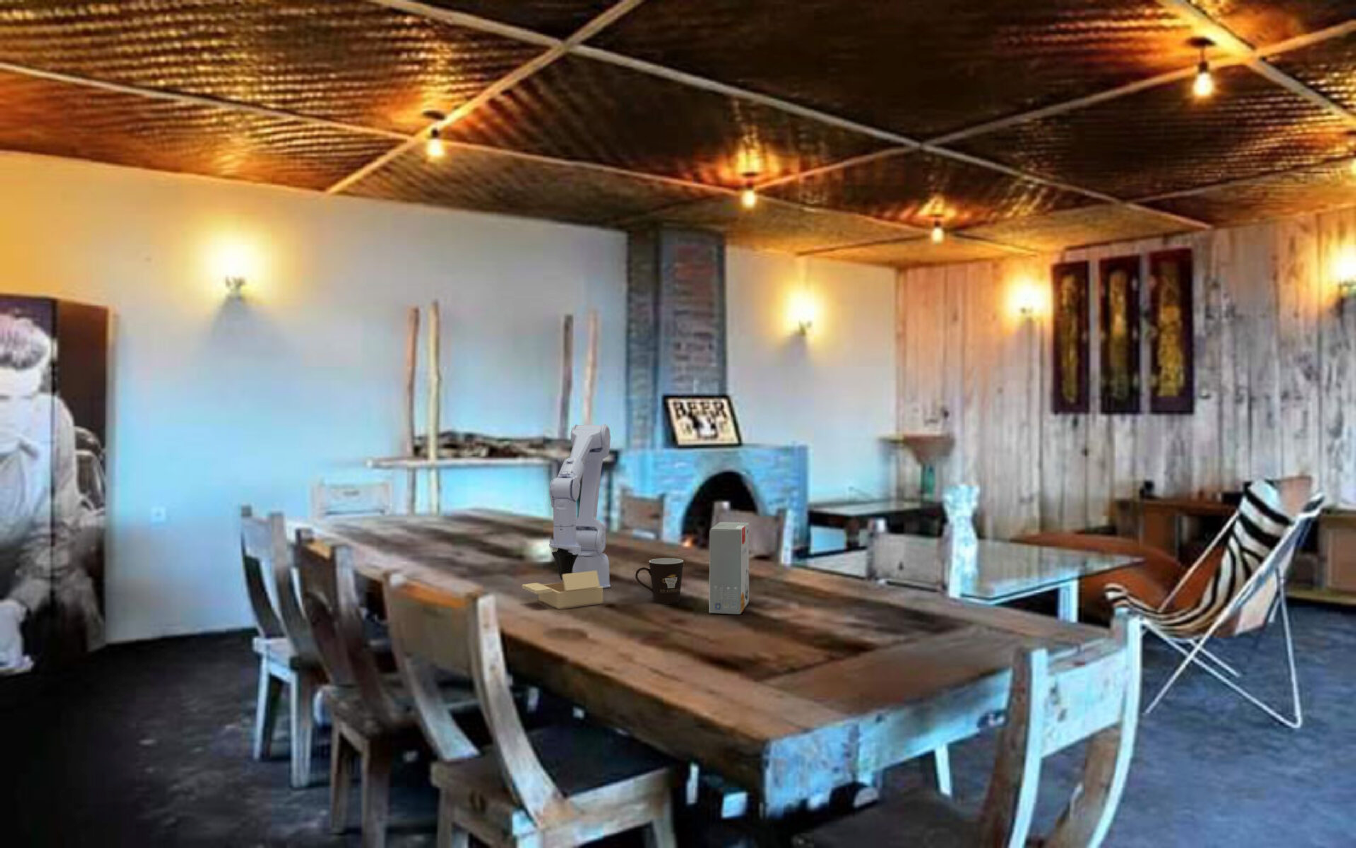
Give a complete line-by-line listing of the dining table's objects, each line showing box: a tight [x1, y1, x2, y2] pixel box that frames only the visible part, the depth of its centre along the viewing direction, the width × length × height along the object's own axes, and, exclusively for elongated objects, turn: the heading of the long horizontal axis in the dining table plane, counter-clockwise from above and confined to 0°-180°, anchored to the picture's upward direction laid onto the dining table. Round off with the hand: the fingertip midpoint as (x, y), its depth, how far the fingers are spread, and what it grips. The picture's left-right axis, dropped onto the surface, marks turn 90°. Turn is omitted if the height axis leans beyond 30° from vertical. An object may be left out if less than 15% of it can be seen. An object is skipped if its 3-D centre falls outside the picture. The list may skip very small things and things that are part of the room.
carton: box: [538, 581, 604, 610], centre depth 234 cm, size 12×12×4 cm
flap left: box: [562, 571, 600, 591], centre depth 229 cm, size 9×4×1 cm
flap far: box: [521, 582, 552, 595], centre depth 230 cm, size 4×9×1 cm, turn 31°
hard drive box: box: [708, 521, 750, 615], centre depth 226 cm, size 16×8×20 cm, turn 168°
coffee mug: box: [634, 557, 684, 605], centre depth 235 cm, size 12×9×10 cm
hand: (565, 579), depth 237 cm, fingers closed
